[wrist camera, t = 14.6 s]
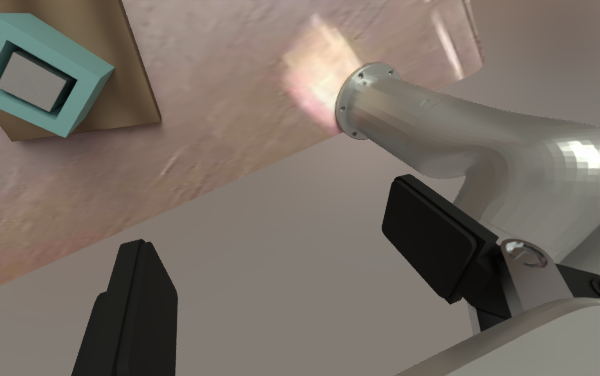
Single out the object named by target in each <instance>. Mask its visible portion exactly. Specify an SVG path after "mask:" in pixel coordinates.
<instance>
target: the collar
mask: <svg viewBox="0 0 600 376" xmlns="http://www.w3.org/2000/svg"><path fill="white" fill-rule="evenodd" d="M21 50H26V51H28V52H30V53H31V54H33V55H35V56H37V57H38V58H40V59H42V60H44V61H46V62H47V63H49V64H51V65H53V66H54V67H56V68H58V69H60V70H61V71H63V72H65V73H67V74H68V75H70V76H72V77H74V78H75V79H77V80H78V81H77V83H76V85H75V86H74V88H73V90H72V92H71V94H70V95H69V97H68V99H67V100H66V101H64V102H63V103H61V104H60V105H58V106H57V107H56V108H54V109H53V110H51V111H50V112H48V111H46V110H44V109H42V108H40V107H38V106H36V105H34V104H32V103H30V102H27V101H25V100H23V99H21V98H19V97H17V96H15V95H13V94H11V93H9V92H6V91H4V90H2V89H0V109H1V110H3V111H5V112H8V113H10V114H12V115H15V116H17V117H19V118H21V119H24V120H26V121H28V122H30V123H33V124H35V125H37V126H39V127H42V128H44V129H46V130H48V131H51V132H53V133H55V134H57V135H60V136H62V137H64V138H66V137H67V136H68V135H69V134H70V133H71V132H72V131H73V130H74V129H75V128H76V127H77V126H78V125H79V124H80V123H81V122H82V121H83V120H84V119H85V117H86V116H87V114H88V112H89V111H90V109H91V107H92V105H93V104H94V102H95V100H96V99H97V97H98V95H99V94H100V92H101V90H102V89H103V87H104V85H105V83H106V82H107V80H108V78H109V77H110V75H111V73H112V72H113V70H114V68H115V67H113V66H112V65H110V64H109V63H107V62H106V61H104V60H102V59H101V58H99V57H98V56H96V55H95V54H93V53H91V52H90V51H88V50H87V49H85V48H84V47H82V46H81V45H79V44H77V43H76V42H74V41H73V40H71V39H70V38H68V37H66V36H65V35H63V34H62V33H60V32H59V31H57V30H55V29H54V28H52V27H51V26H49V25H48V24H46V23H45V22H43V21H41V20H40V19H38V18H37V17H35V16H34V15H32V14H30V13H0V79H1V77H2V75H3V73H4V71H5V69H6V67H7V65H8V62H9V60H10V58H11V56H12V54H13V52H16V51H21Z"/></svg>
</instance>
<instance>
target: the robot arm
mask: <svg viewBox="0 0 600 376" xmlns="http://www.w3.org/2000/svg"><path fill="white" fill-rule="evenodd" d="M336 118H337V121H338V124H339V126H340V128H341V129H342V130H343V132H344V133H346V134H347V135H348V136H350V137H351V138H354V139H358V140H365V139H370V140H372V141H373V142H375V143H376V144H378V145H379V146H381V147H382V148H384V149H385V150H387V151H388V152H390V153H391V154H392V155H394V156H395V157H397V158H398V159H400V160H401V161H403V162H404V163H406V164H407V165H409V166H410V167H412V168H413V169H415V170H416V171H418V172H420V173H421V174H423V175H425V176H428V177H431V178H436V179H447V178H456V177H462V176H466V179H465V182H464V184H463V186H462V187H461V189H460V191H459V193H458V195H457V197H456V198H455V200H454V202H453V203H451V202H449V201H448V200H446V199H445V198H443V197H442V196H441V195H439V194H438V193H436V192H435V191H434V190H432V189H431V188H429V187H428V186H427V185H425V184H424V183H422V182H421V181H420V180H418V179H417V178H415V177H414V176H413V175H411V174H407V175H403V176H398V177H396V178H395V179H394V181H393V182H392V184H391V188H390V193H389V198H388V202H387V206H386V210H385V215H384V219H383V224H382V232H383V233H384V235H385V236H386V237H387V239H388V240H389V241H390V242H391V243H392V244H393V245H394V246H395V247H396V249H397V250H398V251H399V252H400V253H401V254H402V255H403V256H404V257H405V259H407V261H408V262H409V263H410V264H411V265H412V266H413V268H414V269H415V270H416V271H417V272H418V273H419V274H420V275H421V277H422V278H423V279H424V280H425V281H426V282H427V283H428V284H429V285H430V287H431V288H432V289H433V290H434V291H435V292H436V293H437V294H438V295H439V296H440V297H442V298H444V299H445V300H446V301H447V302H448V303H449V304H452V303H455V302H457V301H459V300H461V299H462V297H464V299H465V300H466V301H467V304H468V309H469V315H470V320H471V324H472V330H473V336H472V337H470V338H468V339H466V340H465V341H462V342H460V343H458V344H456V345H454V346H452V347H450V348H448V349H446V350H444V351H442V352H440V353H438V354H436V355H434V356H432V357H430V358H428V359H426V360H424V361H422V362H420V363H418V364H416V365H414V366H412V367H410V368H408V369H406V370H404V371H402V372H400V373H398V374H396V375H394V376H600V127H598V126H594V125H590V124H586V123H581V122H575V121H569V120H562V119H555V118H548V117H541V116H533V115H527V114H522V113H516V112H511V111H506V110H501V109H497V108H493V107H489V106H485V105H481V104H477V103H474V102H471V101H467V100H464V99H461V98H457V97H454V96H450V95H447V94H444V93H441V92H437V91H434V90H431V89H428V88H424V87H421V86H418V85H414V84H411V83H408V82H405V81H402V79H401V77H400V75H399V73H398V72H397V71H396V70H395V68H393V67H391V66H390V65H387V64H384V63H370V64H367V65H364V66H362V67H361V68H359V69H357V70H356V71H355V72H354V73H352V74H351V76H350V77H349V78H348V79H347V80H346V82H345V83H344V85H343V86H342V88H341V90H340V93H339V95H338V99H337V103H336ZM177 305H178V297H177V292H176V289H175V287H174V285H173V283H172V281H171V279H170V277H169V275H168V273H167V272H166V269H165V268H164V266H163V264H162V262H161V260H160V258H159V256H158V254H157V252H156V250H155V248H154V246H153V244H152V243H151V242H146V243H145V241H144V240H143V239H140V240H135V241H131V242H128V243H123V244H121V246H120V248H119V251H118V254H117V258H116V261H115V265H114V268H113V272H112V275H111V278H110V282H109V285H108V288H107V291H106V292H103V293H100V295H99V296H98V297H97V299H96V301H95V303H94V306H93V309H92V313H91V316H90V319H89V322H88V325H87V328H86V331H85V335H84V337H83V341H82V344H81V347H80V350H79V353H78V356H77V359H76V362H75V365H74V369H73V372H72V375H71V376H175V366H176V335H177Z"/></svg>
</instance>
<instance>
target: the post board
mask: <svg viewBox="0 0 600 376" xmlns="http://www.w3.org/2000/svg"><path fill="white" fill-rule="evenodd" d="M0 13H30V14H32V15H34V16H35V17H37V18H38V19H40V20H41V21H43V22H45V23H46V24H48V25H49V26H51V27H52V28H54V29H55V30H57V31H59V32H60V33H62V34H63V35H65V36H66V37H68V38H70V39H71V40H73V41H74V42H76V43H77V44H79V45H81V46H82V47H84V48H85V49H87V50H88V51H90V52H91V53H93V54H95V55H96V56H98V57H99V58H101V59H102V60H104V61H106V62H107V63H109V64H110V65H112V66H113V67H115V68H114V70H113V72H112V73H111V75H110V77H109V78H108V80H107V82H106V83H105V85H104V87H103V89H102V90H101V92H100V94H99V95H98V97H97V99H96V100H95V102H94V104H93V105H92V107H91V109H90V111H89V112H88V114H87V116H86V117H85V119H84V120H83V121H82V122H81V123H80V124H79V125H78V126H77V127H76V128H75V129H74V130H73V131H72V132H71V133H70V134H74V133H81V132H89V131H97V130H104V129H112V128H119V127H127V126H134V125H142V124H150V123H157V122H160V121H161V114H160V111H159V108H158V105H157V102H156V99H155V97H154V94H153V91H152V88H151V85H150V82H149V79H148V76H147V73H146V70H145V67H144V65H143V62H142V59H141V56H140V53H139V50H138V47H137V44H136V41H135V38H134V35H133V32H132V30H131V27H130V24H129V21H128V18H127V15H126V12H125V9H124V6H123V3H122V0H0ZM77 81H78V80H77V79H75V78H74V77H72V76H70V75H68V74H67V73H65V72H63V71H61V70H60V69H58V68H56V67H54V66H53V65H51V64H49V63H47V62H46V61H44V60H42V59H40V58H38V57H37V56H35V55H33V54H31V53H30V52H28V51H26V50H21V51H16V52H13V54H12V56H11V58H10V60H9V62H8V65H7V67H6V69H5V71H4V73H3V75H2V77H1V79H0V89H2V90H4V91H6V92H9V93H11V94H13V95H15V96H17V97H19V98H21V99H23V100H25V101H27V102H30V103H32V104H34V105H36V106H38V107H40V108H42V109H44V110H46V111H48V112H50V111H51V110H53V109H54V108H56V107H57V106H58V105H60V104H61V103H63V102H64V101H66V100H67V99H68V97H69V95H70V94H71V92H72V90H73V88H74V86H75V85H76V83H77ZM0 126H1V127H2V129H3V130H4V131H5V133H6V134H7V135H8V137H9V138H10V139H11V141H12V142H13V141H21V140H28V139H36V138H43V137H51V136H59V135H57V134H55V133H53V132H51V131H48V130H46V129H44V128H42V127H39V126H37V125H35V124H33V123H30V122H28V121H26V120H24V119H21V118H19V117H17V116H15V115H12V114H10V113H8V112H5V111H3V110H1V109H0Z"/></svg>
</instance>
